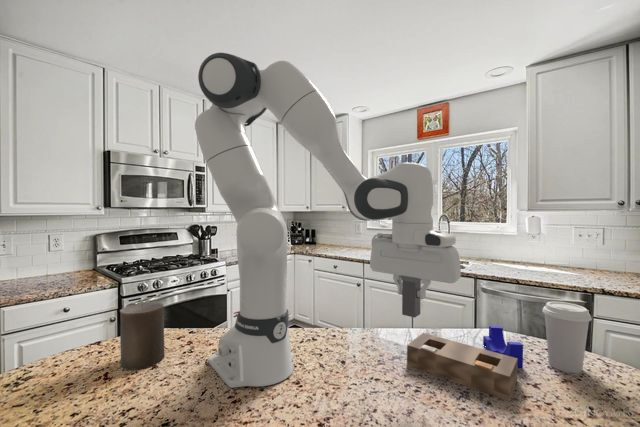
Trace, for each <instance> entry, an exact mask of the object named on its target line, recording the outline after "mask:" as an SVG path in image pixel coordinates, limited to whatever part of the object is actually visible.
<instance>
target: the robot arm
mask: <svg viewBox="0 0 640 427" xmlns="http://www.w3.org/2000/svg"><path fill="white" fill-rule="evenodd" d="M197 78H198V80H197V81H198V84H199V87H200V89H201V92H202V93H203V96H205V97H206V99H207V100H208V101H209V102H210V103H211V106H210V107H209V108H208V109H205V110H204V111H202V112H201V113H200V114H199V115H198V116H197V117H196V119H195V121H194V130H195V134H196V138H197V141H198V145H199V149H200V151H201V153H202V156H203V158H204V161H205V163H206V165H207V167H208V169H209V172H210V173H211V176H212V178H213V181H214V183H215V185H216V187H217V189H218V192H219V194H220V196H221V198H222V199H223V200H224V202H225V203H226V206H227V207H228V209H229V210H230V212H231V215H232V216H233V218H234V219H235V222H236V224H237V226H236V230H235V231H236V232H235V233H236V249H237V251H236V253H237V264H238V265H237V266H238V267H237V268H238V275H239V276H238V277H239V310H238V311H236V312H233V315H234V314H235V315H234V316H233V318H236V319H235V323H234V325H233V327H232V328H230V329H229V330H228V331H226V332H225V333H224V334H223V335H222V336H220V338H219V340H218V346H217V347H218V348H217V349H218V350H217V351H216V352H214V353H213V354H211V355H210V356H209V357H208V358H207V359H208V360H207V361H208V364H209V365H210V367H211V368H212V369H213V370H214V371H215V373H217V375H218V376H219V377H220V379H221V380H223V382H224V383H225V385H227V386H228V388H232V389H233V388H241V387H266V386H271V385H275V384H279V383H281V382H282V381H284V380H286V379H287V378H289V377H290V376H291V375H292V373H293V371H294V363H293V359H294V353H293V352H292V349H291V337H290V329H289V320H290V314H289V310H288V308H287V307H288V306H287V305H288V304H287V302H288V301H287V300H288V286H287V282H288V280H287V278H288V275H287V274H288V227H287V223H286V221H285V219H284V216H283V214H282V212H281V210H280V207H279V205H278V203H277V201H276V198H275V196H274V194H273V191H272V189H271V186H270V185H269V182H268V180H267V178H266V176H265V173H264V172H263V169H262V167H261V164H260V162H259V160H258V157H257V155H256V153H255V151H254V149H253V147H252V144H251V142H250V140H249V138H248V135H247V133H246V128H245V127H249V126H250V125H251V124H253V122H255V120H257V119H258V118H260V117H261V116H262V115H263V114H264V113H266V111H267V110H269V112H270V113H271V114H272V115H273V116H274V117H275V118H276V119H277V120H278V122H279V123H280V124H281V125H282V127H283V128H284V129H285V130H286V131H287V133H288V134H289V135H290V136H291V137H292V138H293V139H294V140H295V141H296V142H298V144H299V145H300V146H302V147H303V148H304V149H306V151H307V152H309V153H310V154H311V155H312V156H313V157H314V158H316V160H318V161H319V162H320V164H322V165H323V167H324V169H325V170H327V172H328V173H329V175H331V177H332V179H333V180H334V181H335V183H336V184H337V185H338V186H339V188H340V189H341V191H342V192H343V195H344V197H345V201H346V206H347V209H348V211H349V212H350V213H351V215H352V216H353V217H354V218H356V219H358V220H360V221H366V222H367V221H368V222H369V221H372V222H373V221H374V222H377V221H378V222H379V221H383V220H385V219H389V218H391V229H392V230H391V233H379V232H378V233H376V235H374V236H372V238H371V250H370V251H371V252H370V257H369V258H370V260H369V267H370V270H372V272H376V273H382V274H387V275H388V274H389V275H392V277H393V278H392V279H393V282H394V284H395V285H396V287H397V294H398V295H399V296H402V280H401V275H403V276H409V277H415V278H419V279H421V284H422V286H421V289H418V290H416V294H417V295H416V298H419V299H421V300H425V299H426V296H427V295H426V293H427V290H428V289H429V286H430V285H431V284H432V281H433V282H439V283H446V284H454V283H456V282H457V281H459V279H461V269H462V268H461V259H460V254H459V251H458V250H457V248H456V247H455V246H454V245H455V244H456V241H457V240H456V239H457V238H456V236H455V235H453V234H450V233H448V232H445V231H443V230H440V229H437V228H435V227H434V220H433V217H432V208H433V205H434V183H433V177H432V176H433V175H432V171H431V170H430V169H429V167H427V166H425V165H424V164H421V163H417V162H409V161H408V162H399V163H397V164H396V165H394V166H393V167H391V168H390V169H389V170H386V171H384V172H382V173H380V174H378V175H374V176H372V177H369V178H367V177H366V176H364V175H363V174H362V173H361V171H360V170H359V169H358V167H357V166H356V165H355V163H354V162H353V161H352V159H351V158H350V157H349V156H348V154H347V152H346V151H345V149H344V147H343V145H342V142H341V140H340V135H339V129H338V122H337V117H336V115H335V113H334V112H333V109H332V108H331V105H330V104H329V103H328V101H327V99H326V98H325V97H324V95H323V94H322V92H320V90H319V89H318V88H317V86H316V85H315V84H314V83H313V82H312V81H311V79H309V78H308V77H307V76H306V74H305V73H303V72H302V71H301V70H300V69H298V67H297V66H295V65H294V64H292V63H291V62H290V61H286V60H278V61H275V62H273V63H271V64H270V65H268V66H267V67H266V68H265V69H259V67H258V65H257V64H256V63H255V62H254V61H250V60H247V59H245V58H242V57H239V56H237V55H235V54H231V53H228V52H216V53H212V54H210V55H209V56H207V57H206V58H205V59H204V60H203V61H202V62H201V64H200V67H199V71H198V77H197Z"/></svg>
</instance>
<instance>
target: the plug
mask: <svg viewBox="0 0 640 427" xmlns="http://www.w3.org/2000/svg"><path fill="white" fill-rule="evenodd" d="M401 281H402V295H401V296H402V298H401V299H402V300H401V305H402V307H401V308H402V310H401V313H402V314H401V315H402V316H406V317H410V318H417V317H419V316H420V315H421V300H422V299H419V298H416V295H417V294H416V290H418V289H421V288H422V286H421V279H419V278H415V277H409V276H403V275H401Z"/></svg>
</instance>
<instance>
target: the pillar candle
mask: <svg viewBox="0 0 640 427" xmlns="http://www.w3.org/2000/svg"><path fill="white" fill-rule="evenodd" d="M164 307H165V306H164V303H163V302H159V301H147V302H146V301H145V302H144V301H143V302H139V303H135V304H130V305H126V306H124V307H122V308H121V309H119V313H120V317H119V318H120V340H119V342H120V347H119V348H120V367H121V368H122V369H124V370H130V371H131V370H143V369H147V368H150V367H152V366H155V365H157V364H159V363H160V362H162V361H163V359H164V358H165V317H164V316H165V314H164V313H165V308H164Z"/></svg>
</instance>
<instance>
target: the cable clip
mask: <svg viewBox="0 0 640 427" xmlns="http://www.w3.org/2000/svg"><path fill="white" fill-rule="evenodd" d="M482 338H483V339H482V346H483V345H484V346H486V348H487V349H486V348H485V349H486V350H488V351H492V352H496V353H499V354H503V355H507V356H510V357H514V358H518V368H517V369H523V368H524V364H523V363H524V344H523V343H522V342H520V341H506V340H505V338H504V328H503V327H502V326H501V325H488V335H483V336H482ZM505 341H506V342H505ZM484 346H483V347H484Z"/></svg>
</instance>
